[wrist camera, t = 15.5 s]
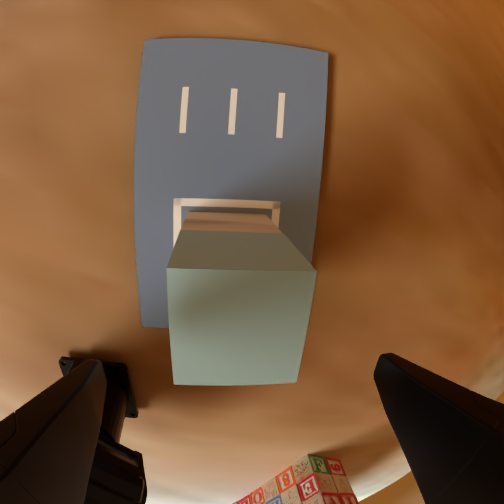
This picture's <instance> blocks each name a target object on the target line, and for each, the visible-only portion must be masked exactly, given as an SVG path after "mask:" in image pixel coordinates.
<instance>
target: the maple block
mask: <svg viewBox="0 0 504 504" xmlns="http://www.w3.org/2000/svg"><path fill="white" fill-rule="evenodd" d="M181 230H202V231H231V232H257V233H280V234H283V233H282V232H281V231H280V230H279V229H278V228H277V226H276V225H275V224H274V223H273V222H272V221H271V220H270V219H269V217H268V216H267V215H266V214H246V213H218V212H187V214H186V217H185V219H184V222H183V225H182V227H181Z"/></svg>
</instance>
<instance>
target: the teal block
mask: <svg viewBox="0 0 504 504" xmlns="http://www.w3.org/2000/svg"><path fill="white" fill-rule="evenodd" d="M316 275H317V271H316V270H315V269H314V268H313V266H312V265H311V264H310V263H309V262H308V261H307V259H306V258H305V257H304V256H303V255H302V254H301V253H300V251H299V250H298V249H297V248H296V247H295V246H294V245H293V243H292V242H291V241H290V240H289V239H288V238H287V237H286V235H285V234H280V233H257V232H231V231H202V230H180V232H179V235H178V238H177V240H176V243H175V246H174V249H173V251H172V254H171V257H170V260H169V263H168V265H167V296H168V317H169V333H170V347H171V360H172V371H173V381H174V385H210V386H229V385H265V384H283V383H296V382H297V377H298V373H299V368H300V363H301V358H302V353H303V348H304V343H305V338H306V333H307V327H308V322H309V316H310V311H311V305H312V299H313V293H314V287H315V281H316Z"/></svg>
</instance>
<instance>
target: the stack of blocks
mask: <svg viewBox="0 0 504 504" xmlns="http://www.w3.org/2000/svg"><path fill="white" fill-rule="evenodd" d="M234 504H359V503H358V501H357V498H356V496H355V494H354V493H353V490H352V488H351V486H350V484H349V481H348V479H347V477H346V474H345V471H344V469H343V467H342V464H341V462H340V460H335V459H330V458H323V457H318V456H313V455H309V454H307V455H306V456H305V457H303V458H302V459H301V460H299V461H298V462H296V463H295V464H294V465H292V466H290V467H289V468H287V469H286V470H285V471H283V472H282V473H280V474H279V475H277V476H276V477H274V478H273V479H271V480H270V481H268V482H267V483H265V484H264V485H262V487H260V488H259V489H257V490H255V491H254V492H252V493H251V494H249V495H248V496H246V497H244V498H243V499H241V500H239V501H238V502H235V503H234Z"/></svg>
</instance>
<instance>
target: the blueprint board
mask: <svg viewBox="0 0 504 504" xmlns="http://www.w3.org/2000/svg"><path fill="white" fill-rule="evenodd" d="M327 80H328V53H327V52H322V51H317V50H312V49H307V48H301V47H295V46H289V45H282V44H274V43H266V42H257V41H247V40H234V39H215V38H165V39H146V40H145V43H144V49H143V57H142V64H141V73H140V82H139V92H138V103H137V116H136V132H135V154H134V227H135V250H136V267H137V280H138V292H139V302H140V312H141V321H142V327H152V328H169V317H168V296H167V265H168V263H169V260H170V257H171V254H172V251H173V249H174V246H175V243H176V240H177V238H178V235H179V232H180V230H181V227H182V225H183V222H184V219H185V217H186V214H187V212H218V213H246V214H266V215H267V216H268V217H269V219H270V220H271V221H272V222H273V223H274V224H275V225H276V226H277V228H278V229H279V230H280V231H281V232H282V233H283V234H285V235H286V237H287V238H288V239H289V240H290V241H291V242H292V243H293V245H294V246H295V247H296V248H297V249H298V250H299V251H300V253H301V254H302V255H303V256H304V257H305V258H306V259H307V261H308V262H309V263H310V264H311V263H312V255H313V248H314V239H315V231H316V222H317V213H318V204H319V194H320V184H321V173H322V161H323V149H324V135H325V120H326V102H327Z"/></svg>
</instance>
